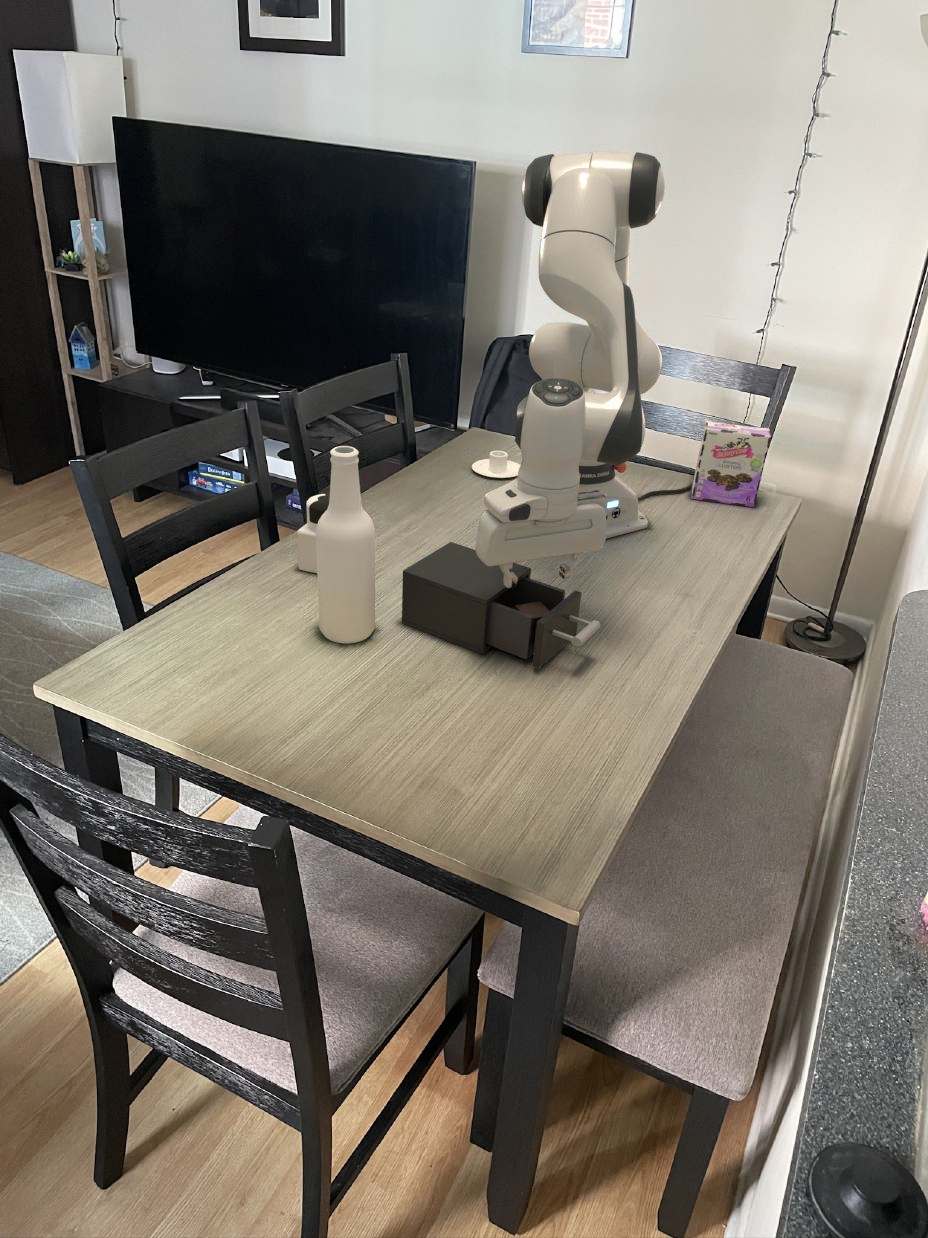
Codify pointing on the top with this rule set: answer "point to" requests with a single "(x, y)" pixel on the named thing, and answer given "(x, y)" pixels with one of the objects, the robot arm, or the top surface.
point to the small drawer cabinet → (453, 595)
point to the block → (533, 614)
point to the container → (311, 533)
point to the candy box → (730, 463)
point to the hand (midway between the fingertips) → (538, 581)
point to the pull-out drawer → (552, 629)
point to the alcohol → (345, 556)
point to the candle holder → (497, 466)
